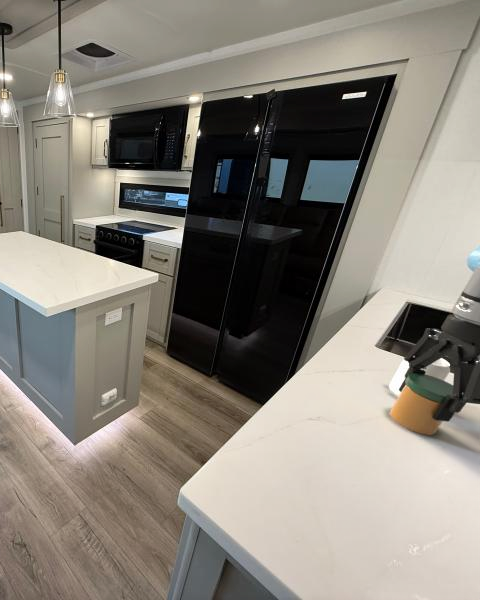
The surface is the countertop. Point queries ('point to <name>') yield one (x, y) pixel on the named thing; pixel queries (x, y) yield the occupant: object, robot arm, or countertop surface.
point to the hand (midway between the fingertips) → (421, 404)
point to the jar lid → (429, 386)
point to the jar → (415, 412)
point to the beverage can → (435, 369)
